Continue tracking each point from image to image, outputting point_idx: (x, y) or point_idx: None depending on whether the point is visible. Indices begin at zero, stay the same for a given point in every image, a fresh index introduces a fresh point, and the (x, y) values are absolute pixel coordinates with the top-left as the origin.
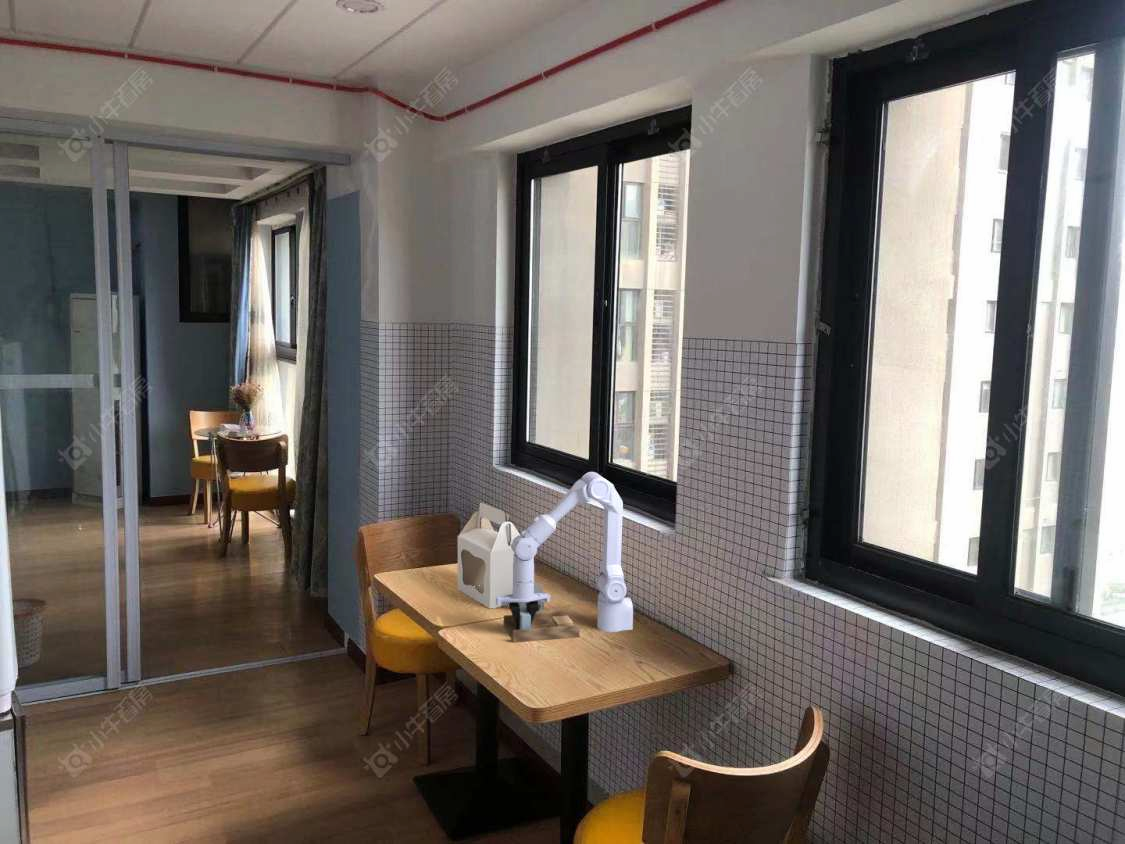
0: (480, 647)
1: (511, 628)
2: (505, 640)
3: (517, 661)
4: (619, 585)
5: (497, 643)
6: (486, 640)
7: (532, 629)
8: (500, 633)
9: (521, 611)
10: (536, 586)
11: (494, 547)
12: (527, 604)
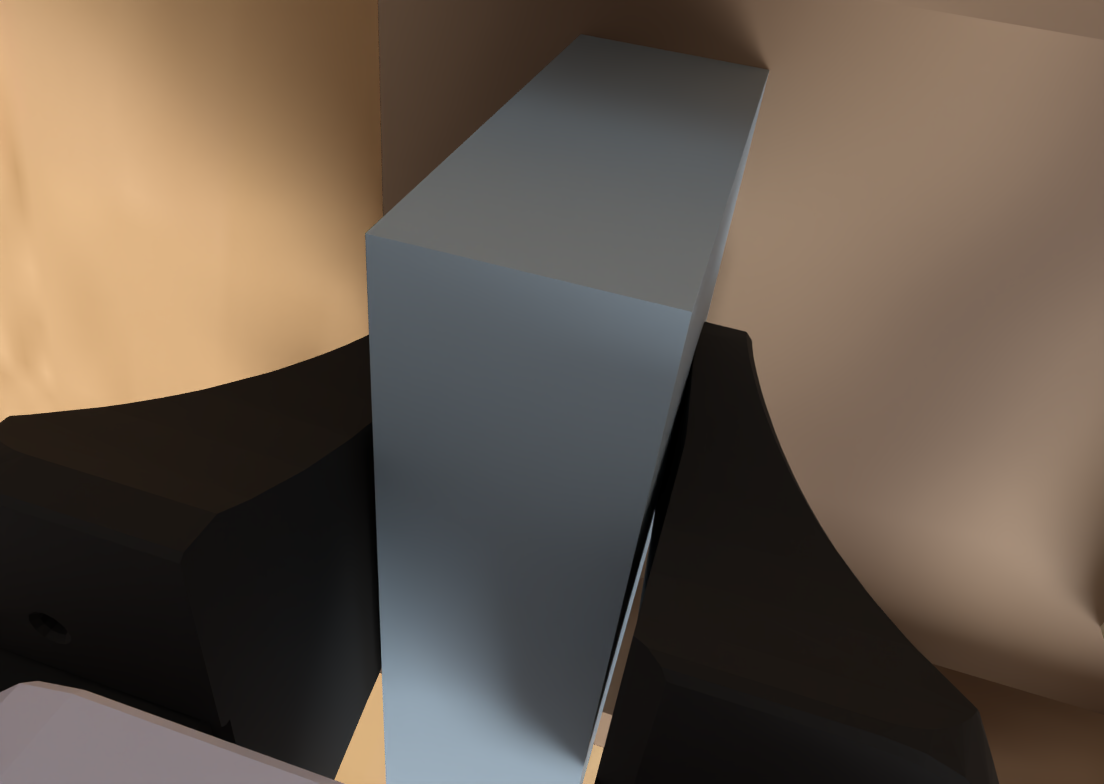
0: (56, 383)
1: (501, 9)
2: (344, 333)
3: (368, 752)
4: None
5: (237, 372)
6: (104, 222)
7: (598, 730)
8: (310, 24)
9: (450, 606)
10: None
11: None
12: (598, 773)
